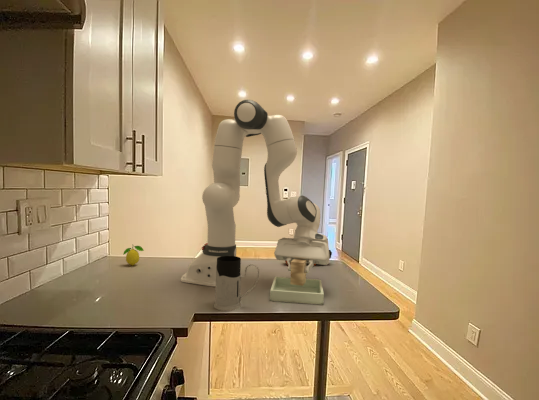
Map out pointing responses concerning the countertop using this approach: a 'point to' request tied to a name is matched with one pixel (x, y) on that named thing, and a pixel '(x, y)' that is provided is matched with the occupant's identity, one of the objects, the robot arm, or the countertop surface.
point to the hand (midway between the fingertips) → (298, 271)
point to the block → (298, 272)
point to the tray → (297, 291)
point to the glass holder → (229, 283)
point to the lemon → (132, 255)
